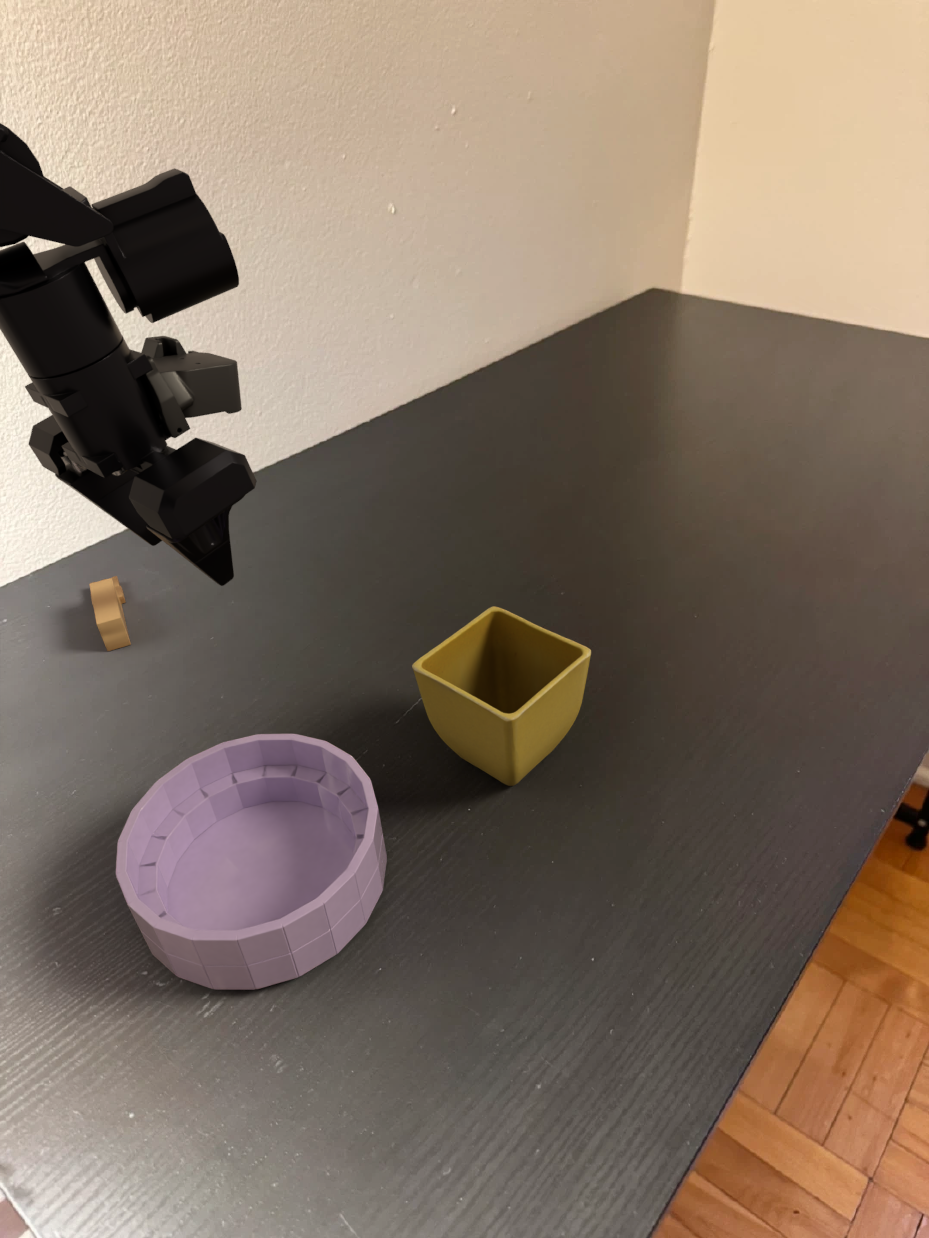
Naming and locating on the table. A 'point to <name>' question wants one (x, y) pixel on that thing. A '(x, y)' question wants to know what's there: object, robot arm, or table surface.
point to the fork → (110, 612)
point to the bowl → (253, 860)
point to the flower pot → (503, 692)
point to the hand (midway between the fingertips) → (191, 560)
